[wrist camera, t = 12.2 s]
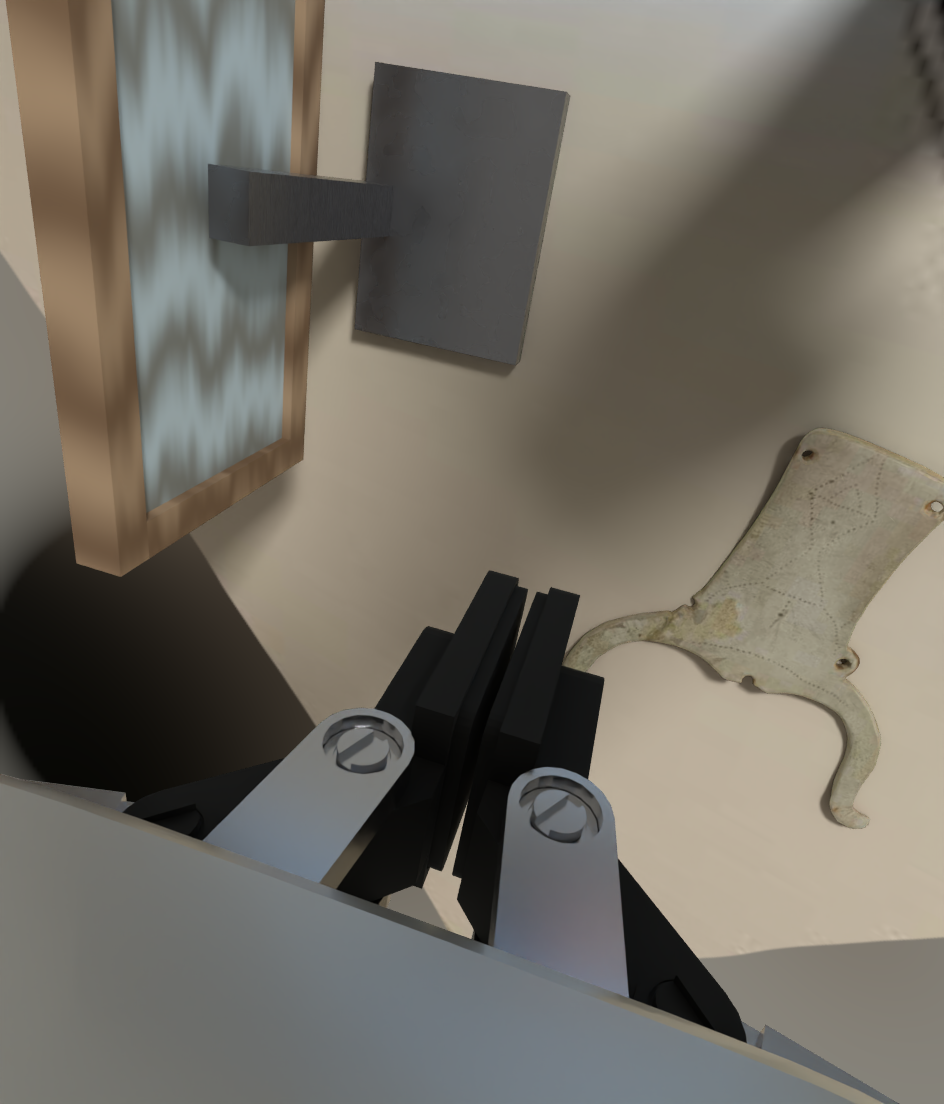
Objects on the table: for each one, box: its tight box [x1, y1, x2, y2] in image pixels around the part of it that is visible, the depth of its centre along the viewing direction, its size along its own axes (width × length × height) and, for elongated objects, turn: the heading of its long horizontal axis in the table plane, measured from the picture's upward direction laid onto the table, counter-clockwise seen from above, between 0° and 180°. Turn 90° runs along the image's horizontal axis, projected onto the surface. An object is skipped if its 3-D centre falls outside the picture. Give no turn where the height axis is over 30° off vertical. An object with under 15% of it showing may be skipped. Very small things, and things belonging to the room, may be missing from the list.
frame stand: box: [208, 62, 570, 365], centre depth 38 cm, size 16×12×19 cm
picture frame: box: [6, 0, 325, 577], centre depth 33 cm, size 32×3×18 cm, turn 171°
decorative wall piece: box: [562, 428, 944, 829], centre depth 52 cm, size 30×3×30 cm
